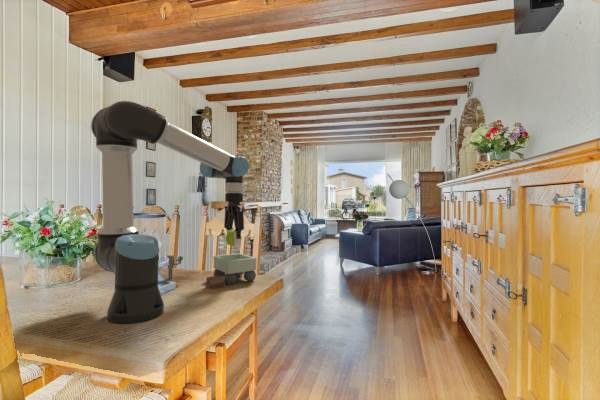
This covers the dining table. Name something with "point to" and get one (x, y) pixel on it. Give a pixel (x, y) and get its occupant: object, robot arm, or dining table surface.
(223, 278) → the chock
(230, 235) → the tennis ball
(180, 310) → the dining table surface
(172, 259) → the mechanical component
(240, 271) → the trolley
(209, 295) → the dining table surface
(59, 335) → the dining table surface
